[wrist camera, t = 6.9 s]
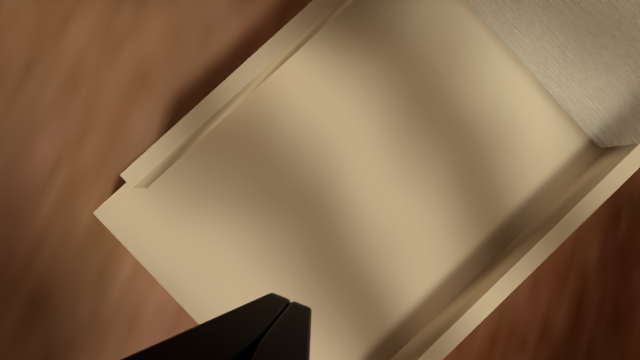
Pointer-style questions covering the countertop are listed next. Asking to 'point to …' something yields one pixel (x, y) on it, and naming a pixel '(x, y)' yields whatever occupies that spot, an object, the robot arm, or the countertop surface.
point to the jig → (366, 180)
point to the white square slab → (579, 58)
